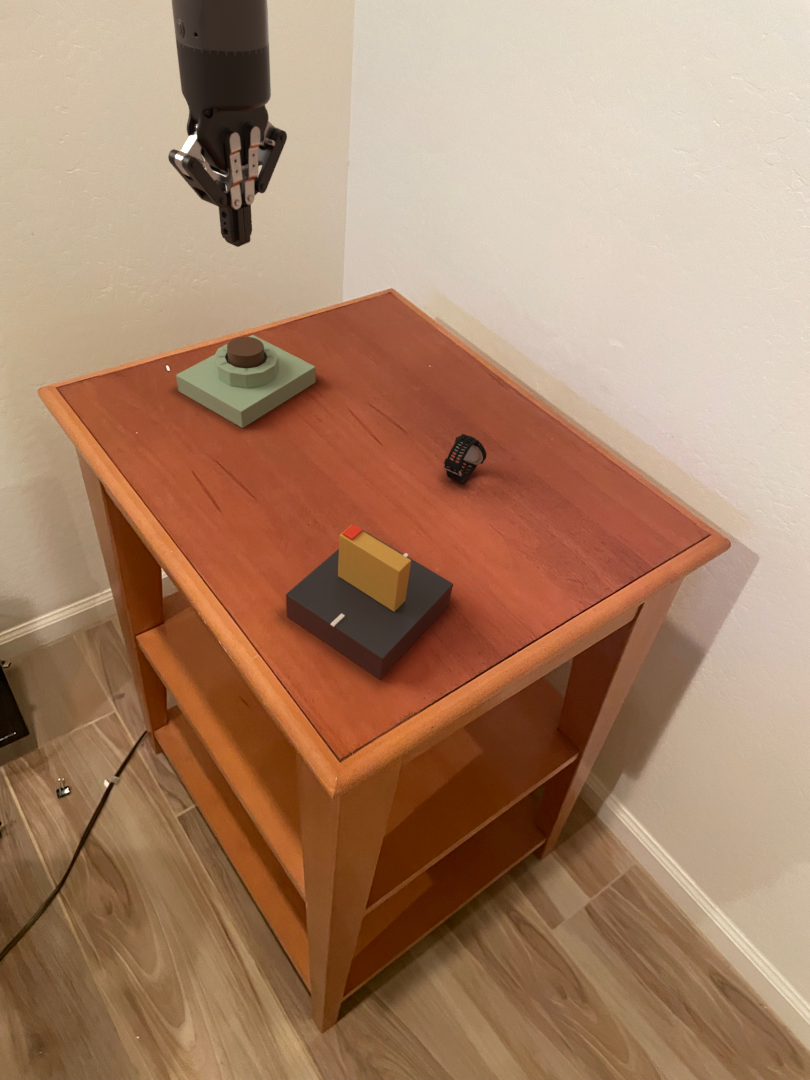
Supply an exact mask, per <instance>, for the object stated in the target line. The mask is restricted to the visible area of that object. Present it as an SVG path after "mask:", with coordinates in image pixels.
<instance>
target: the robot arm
mask: <svg viewBox="0 0 810 1080" xmlns="http://www.w3.org/2000/svg"><path fill="white" fill-rule="evenodd" d="M171 8H172V16H173V17H172V18H173V25H174V36H175V44H176V54H177V63H178V71H179V81H180V88H181V89H180V90H181V93H182V96H183V98H184V99H185V101H186V104H187V106H188V119H187V123H186V133H187V136H188V137H187V139H186V140H185V142H184V143H183V145H182V147H181V148H180V150H178V149H175V148H173V149H170V151H169V152H168V157H167V158H168V162H169V163H170V165H172V167H173V168H174V169H175V170H176V172H177V173H178V174H179V175H180V176H181V178H182V179H183V180H184V181H185V182H186V183H187V184H188V185H189V187H190V188H191V189H192V190H193V192H194V193H195V194H196V196H197V197H199V198H200V200H202V201H204V202H206V203H209V204H212V205H214V206H216V207H218V215H219V225H220V235H221V237H222V238H223V239H224V240H225V242H226V243H228V244H230V245H233V246H234V247H237V248H239V247H241V246H245V245H246V244H248V243H250V242H251V236H252V232H253V224H252V223H253V220H252V219H253V218H252V204H253V203H254V202H255V196H256V195H257V194H258V193H259V194H264V193H266V191H267V189H268V187H269V184H270V182H271V179H272V177H273V174H274V172H275V170H276V167H277V165H278V162H279V160H280V157H281V155H282V153H283V150H284V148H285V146H286V142H287V139H288V134H287V132H286V130H283V129H280V128H279V127H276V126H275V125H273V124H272V123H271V122H270V121H269V118H270V117H269V112H268V108H267V107H266V105H267V104H268V103H269V101H270V100H271V97H272V88H271V62H270V36H269V35H270V34H269V33H270V32H269V8H268V0H171ZM260 166H261V168H260V170H259V167H260Z"/></svg>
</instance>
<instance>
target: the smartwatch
mask: <svg viewBox="0 0 810 1080" xmlns="http://www.w3.org/2000/svg"><path fill="white" fill-rule="evenodd" d="M454 453H455V454H454ZM486 459H487V451H486V448H485V447H484V445H483V443H482V442H481V441H480V440H479V439H477V438H476V437H474V436H471V435H467V434H464V433H461V435H458V436H456V437H455V440H454V442H453V445H452V447H451V448H450V450H449V453H448V455H447V457H446V458H444V462H443V469H444V470H446V471H445V472H446V476H447V478H449V479H451V480H452V481H454V482H457V483H459V484H461V485H463V484H464V483H466V482H467V480H468V479H469V478H470V476H471V475H472V473H473V472H474V471H475V469H476V468H477V467H478V465H483V464H484V463H485V461H486Z"/></svg>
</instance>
